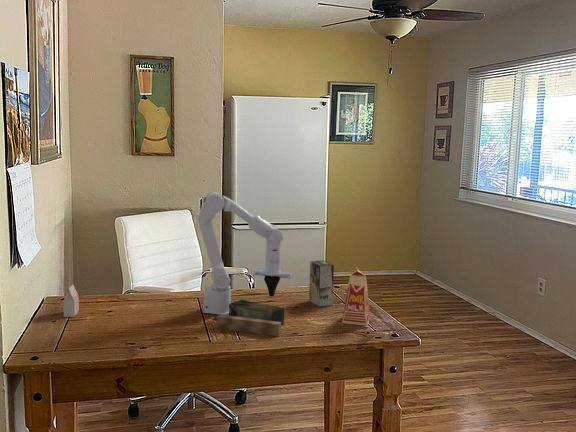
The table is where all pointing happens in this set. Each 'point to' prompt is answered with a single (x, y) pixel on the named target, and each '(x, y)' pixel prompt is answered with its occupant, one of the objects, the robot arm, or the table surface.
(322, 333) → the table surface
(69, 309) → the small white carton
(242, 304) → the beverage carton
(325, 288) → the coffee box
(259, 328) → the walnut board
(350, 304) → the milk carton
